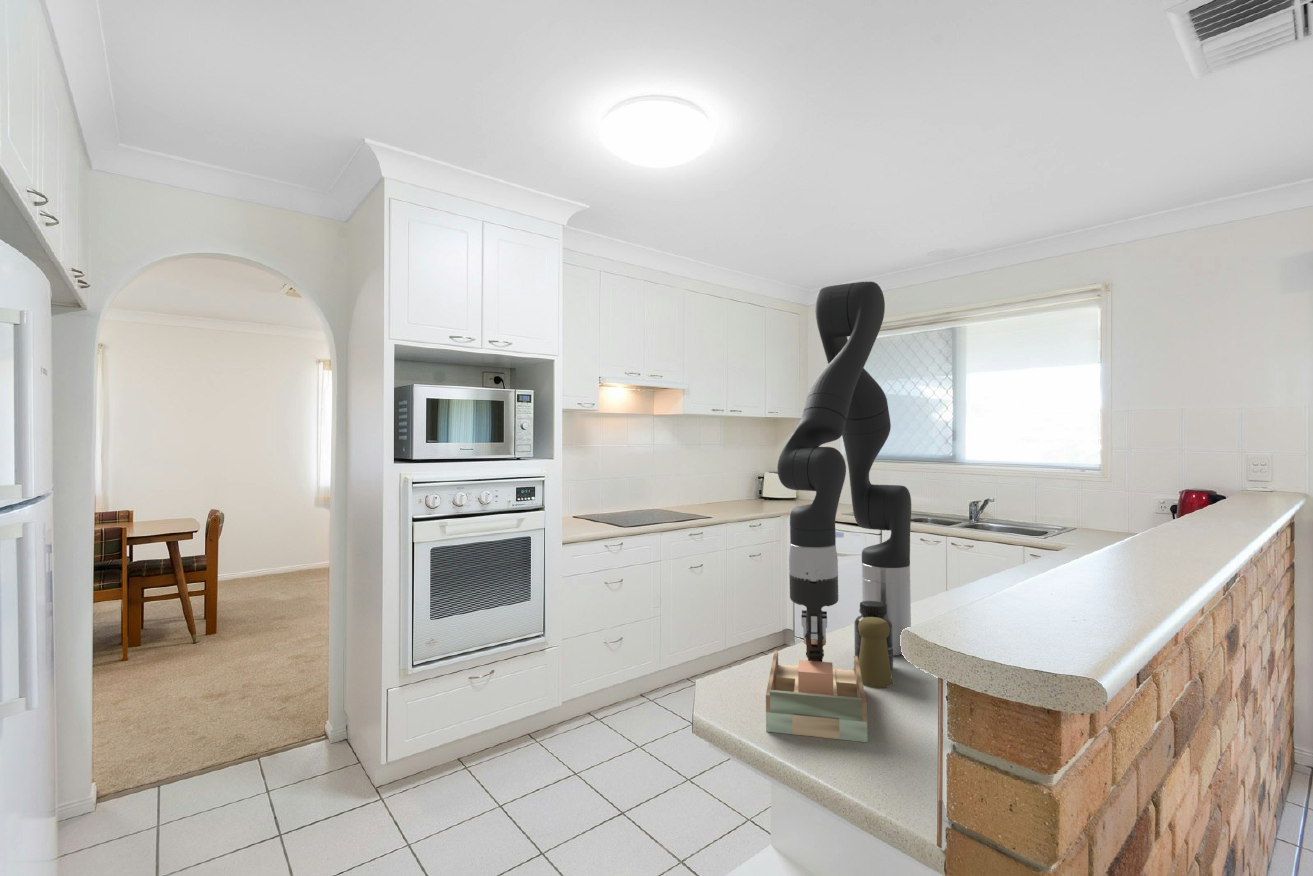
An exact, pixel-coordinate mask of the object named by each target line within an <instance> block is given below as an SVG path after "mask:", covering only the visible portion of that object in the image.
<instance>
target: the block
mask: <svg viewBox="0 0 1313 876" xmlns="http://www.w3.org/2000/svg"><path fill="white" fill-rule="evenodd" d="M798 665H799V668H798V692H801V693H812V694H824V695H833V668H834V666H833V665H834V664H833V662H830V661H822V662H819V661H808V659H807V660H804V659H799V660H798Z"/></svg>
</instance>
